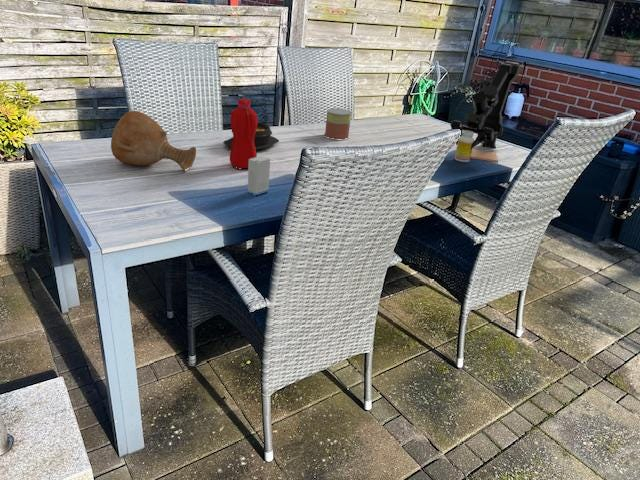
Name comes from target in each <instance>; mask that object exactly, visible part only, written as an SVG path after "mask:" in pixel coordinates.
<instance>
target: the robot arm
mask: <svg viewBox="0 0 640 480" xmlns="http://www.w3.org/2000/svg"><path fill="white" fill-rule="evenodd" d="M499 64H500V65H499V66H498V70H497V72H496V74H495V76H494V77H493V79H492V81H491V83H490V84H489V86H488V87H486V88H484V89H480V91H478V92H475V94H473V96H472V103H473V109H474V111H473V112H467V115H466V117H465V121H466V122H465V124H466V125H464V124H463V123H462V121H460V120H455V119H453V120H451V122H450V128H451V130H452V129H460V130H461V135H460V136H462V135H463V134H462V132H463V130H469V131H473V132H474V134H477V136H476V138H474V143H473V144H472V146H471V149H473V150H474V149H475V147H477V146H478V145H480V144H481V146H482V147H487V148H493V149H496V148H497V146H496V142H497V138H498V137H499V136H502V134H503V131H504V127H503V120H504V119H503V115H502V112H503V109H504V106H505V103H506V101H507V98H508V95H509V91H510V88H511V86H512V83H513V82H514V81H515V80H517V78H518V76H519V74H520V73H521V71H522V66H521V64H520V63H519V62H513V61H509V60H508V61H507V60H506V61H504V62H500V63H499ZM490 108H492V110H491V111H490ZM458 140H459V139H458ZM457 144H458V141H457V142H455V145H456V146H457Z"/></svg>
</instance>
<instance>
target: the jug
mask: <svg viewBox="0 0 640 480" xmlns="http://www.w3.org/2000/svg"><path fill="white" fill-rule="evenodd" d="M167 136H168V132H167V131H164V129H163V127H162V126H161V125H160V124H159V123H158V122H157V121H156V120H154V119H153V118H152V117H150V116H149V115H147V114H146V113H143V112H142V111H139V110H130V111H128V112H126V113H125V114H123V115H122V116H121V118H120V119H119V120H118V122H117V123H116V125H115V126H114V130H113V132H112V135H111V138H110V139H111V140H110V148H111V153H112V155H113V157H114V158H115V159H116V160H118V161H119V162H121V163H123V164H128V165H131V164H133V165H132V166H140V165H142V166H150V165H154V164H156V163H158V162H160V161H162V160H164V159H165V160H166V159H167V160H171V161H173V162H175V163H177V165H179V167H180V168H181V169H182V170H181V171H182V172H183V171H185V169H187V168H189V167H191V168H192V167H193V164H194V162H195V159H196V157H197V148H196V146H192V147H190V148H189V149H182V148H177V147H175V146H173V145H171V144H170V143H169V141H168V137H167Z"/></svg>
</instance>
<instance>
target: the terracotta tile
mask: <svg viewBox="0 0 640 480" xmlns="http://www.w3.org/2000/svg"><path fill="white" fill-rule="evenodd" d="M470 159H474V160H481V161H486V162H494V163H498V162H499V158H498V155H497V152H492V151H486V150H478V149H474V148H473V149H472V153H471V157H470Z"/></svg>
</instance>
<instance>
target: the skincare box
mask: <svg viewBox="0 0 640 480" xmlns="http://www.w3.org/2000/svg"><path fill="white" fill-rule="evenodd" d="M270 166H271V158H269V157H266V156H263V155H260V156H257V157H255V158H251V159H249V165H248V170H247V171H248V174H247V181H248V182H247V191H248V190H249V191H251V192H254V193H259V192H262V191H265V190H268V189H270Z"/></svg>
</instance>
